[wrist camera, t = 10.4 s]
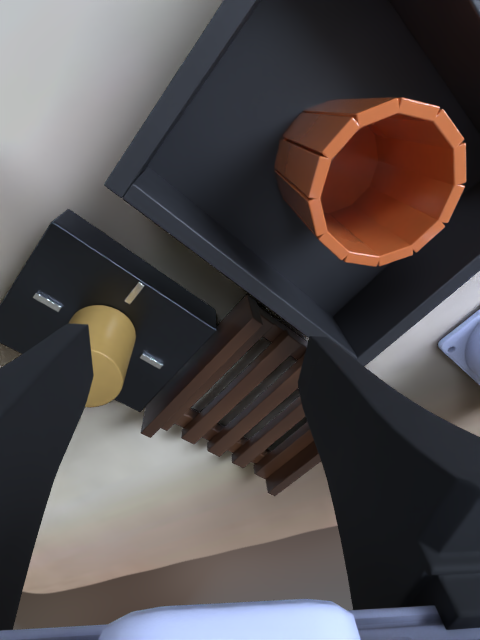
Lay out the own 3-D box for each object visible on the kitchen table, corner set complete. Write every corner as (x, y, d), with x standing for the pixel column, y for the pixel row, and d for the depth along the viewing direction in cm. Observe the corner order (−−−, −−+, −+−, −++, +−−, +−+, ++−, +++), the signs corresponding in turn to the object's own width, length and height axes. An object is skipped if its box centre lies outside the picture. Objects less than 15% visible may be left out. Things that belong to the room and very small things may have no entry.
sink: (510, 159, 20) (596, 174, 16) (328, 325, 25) (356, 374, 20) (321, -129, 14) (376, -235, 9) (126, 165, 18) (103, 185, 14)
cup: (402, 156, 19) (495, 181, 13) (324, 237, 21) (374, 291, 15) (332, 72, 17) (406, 55, 11) (253, 170, 18) (277, 202, 13)
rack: (368, 383, 28) (385, 412, 25) (268, 464, 31) (274, 496, 29) (247, 293, 23) (252, 317, 20) (146, 401, 26) (140, 433, 24)
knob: (148, 328, 20) (136, 377, 17) (114, 368, 22) (96, 422, 18) (89, 292, 19) (63, 337, 15) (56, 337, 20) (24, 390, 17)
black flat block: (215, 309, 23) (217, 332, 21) (145, 387, 26) (139, 414, 24) (68, 207, 19) (50, 221, 17) (3, 312, 22) (-20, 336, 20)
